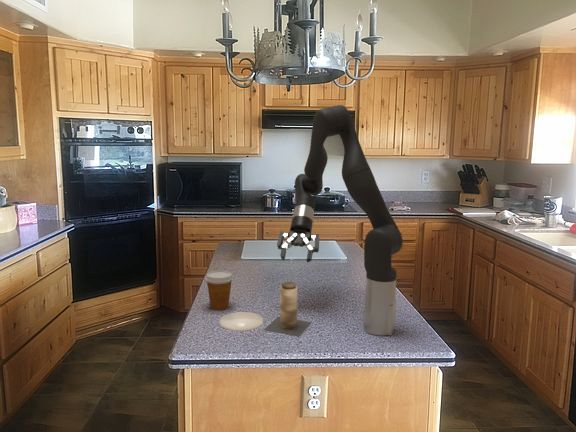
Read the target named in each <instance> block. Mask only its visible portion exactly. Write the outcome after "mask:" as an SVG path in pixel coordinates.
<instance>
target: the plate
mask: <svg viewBox="0 0 576 432" xmlns="http://www.w3.org/2000/svg"><path fill="white" fill-rule="evenodd" d="M263 324H264V318H263V316H262V315H261V314H258V313H255V312H251V311H235V312H230V313H227V314H225V315H223V316H222V317H220V319H219V326H221V327H222V328H223V329H225V330H228V331H233V332H246V331H252V330H256V329H259V328H261V326H263Z"/></svg>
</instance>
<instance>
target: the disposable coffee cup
mask: <svg viewBox="0 0 576 432" xmlns="http://www.w3.org/2000/svg"><path fill="white" fill-rule="evenodd" d="M233 279H234V276H233V274H232V273H231V272H230V271H227V270H226V271H225V270H216V271H215V270H213V271H209V272H208V273H207V274H206V277H205V280H206V285H207V293H208V297H209V298H208V299H209V304H210V309H212V310H215V311H217V310H218V311H222V310H226V309H228V308H229V304H230V298H231V297H230V296H231V289H232V288H231V287H232V281H233Z"/></svg>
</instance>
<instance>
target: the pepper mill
mask: <svg viewBox="0 0 576 432" xmlns="http://www.w3.org/2000/svg"><path fill="white" fill-rule="evenodd" d="M297 309H298V286H297V285H296V283H295V282H293V281H285V282H282V283H281V285H280V287H279V317H280V328H282V329H286V330H290V329H294V328H296V326H297V320H298V319H297V317H298V312H297V311H298V310H297Z"/></svg>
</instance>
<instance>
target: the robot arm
mask: <svg viewBox="0 0 576 432" xmlns="http://www.w3.org/2000/svg"><path fill="white" fill-rule="evenodd" d="M355 127H356V126H355V125H354V121H353V119H352V116H351V113H350V112H349V110H348V108H347V107H346V106H345V105H344V104H343V105H341V104H338V105H333V106H328V107H327V106H326V107H322V108H320V109H318V110H317V111H316V112H315V114H314V116H313V121H312V128H311V129H312V130H311V139H310V146H309V147H310V148H309V152H308V156H307V159H306V162H305V165H304V169H303V170H304V173H300V174H298V175H297V176H296V177H295V180H294V189H295V195H296V197H295V198H296V199H295V205H294V210H293V213H292V216H291V223H290V229H289V232H288V233H286V232H284V231H283V230H282V231H280V232H279V235H278V236H279V237H278V239H277V242H276V245H277V249H278V250H280V255H279V256H280V259H281V260H282V261H286V254H287V250H289V249H291V248H292V247H301V248H303V247H305V248H306V250H307V255H306V263H307V264H310V262H312V259H313V253H319V251H320V234H319V233H316V234H313V235H312V231H313V230H312V229H313V223H314V217H315V215H314V212H315V206H316V198H315V196H316V197H317V196H318V195H320V194H321V193H322V190H323V186H324V185H323V184H324V182H323V175H324V172H325V171H326V170H325V169H326V167H327V164H328V153H327V150H326V148H325V146H324V144H325V141H326V140H327V138H328V137H332V136H333V137H334V136H338V135H339V137H340V138H341V139H340V140H341V142H342V145H343V151H344V152H343V161H342V165H341V166H342V167H341V178H342V179H343V184H344V185H345V188H346V189H347V191H348V192H347V193H348V194H349V196H350V198H352V200H353V201H354V202H355V203H356V205H358V207H359V208H361V210H362V211H363V212H364V213H365V214H366V216H367V218H368V220H369V222H370V224H371V226H372V229H371V230H369V231H368V232H367V234H366V236H365V239H364V242H363V243H364V246H363V247H364V248H363V260H364V261H363V263H364V264H363V265H364V269H365V272H366V273H365V274H366V276H365V278H366V279H365V301H364V318H363V319H364V320H363V330H364V331H365V332H366V333H368V334H370V335H374V336H392V335H393V333H394V331H395V329H396V326H395V325H396V310H397V300H396V293H397V292H396V291H397V290H396V289H397V275H398V272H397V269H396V268H394V267H393V266H392V256H393V255H395V254H397V253H399V252H400V251H401V249H403V244H404V243H403V241H404V240H403V236H402V233H401V231H400V229H399V227H398V225H397V224H396V222H395V219H394V218H393V217H392V215H391V212H390V211H389V209H388V207H387V204H386V202H385V200H384V197H383V194H381V191H380V189H379V186H378V184H377V182H376V179H375V176H374V173H373V171H372V169H371V167H370V164H369V162H368V161H367V158H366V156H365V154H364V151H363V148H362V146H361V144H360V140H359V137H358V134H357V131H356V128H355ZM286 238H288V239H287V240H286ZM285 240H286V241H285ZM284 241H285V242H284ZM311 241H313V242H314V246H312V245H311V243H310V242H311Z"/></svg>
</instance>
